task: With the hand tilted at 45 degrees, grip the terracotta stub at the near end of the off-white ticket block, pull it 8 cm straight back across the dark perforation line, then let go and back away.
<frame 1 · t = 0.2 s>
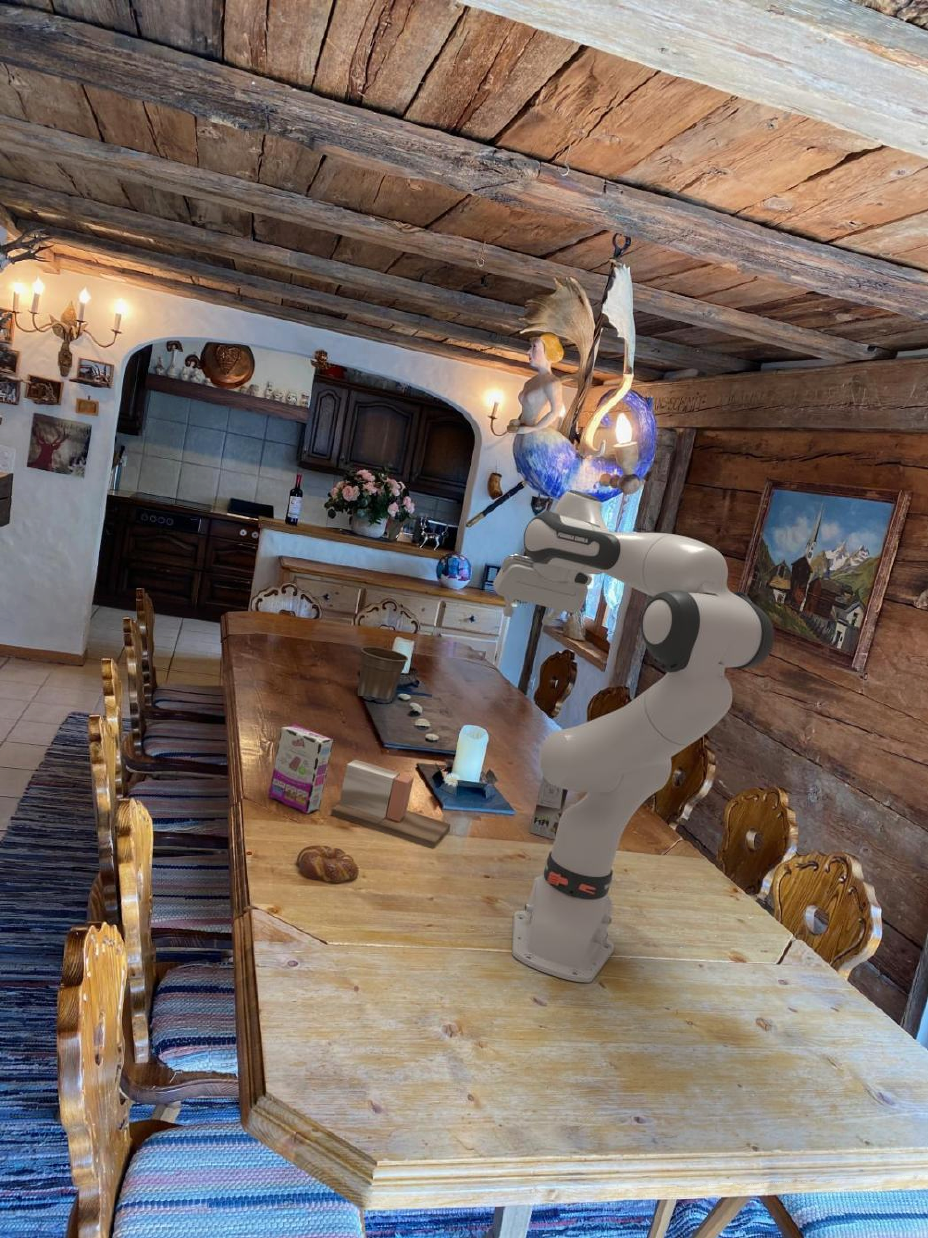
hand: (526, 619, 183), 51 cm above the table, tool tilted 20°, fingers open, 8 cm apart
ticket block: (386, 821, 191), on the table
stub: (400, 797, 189), point 6 cm above the table, slide at 0.0 cm
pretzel: (326, 872, 162), on the table
candy bar box: (293, 804, 189), on the table
coffee box: (544, 831, 206), on the table
plant pot: (375, 699, 291), on the table
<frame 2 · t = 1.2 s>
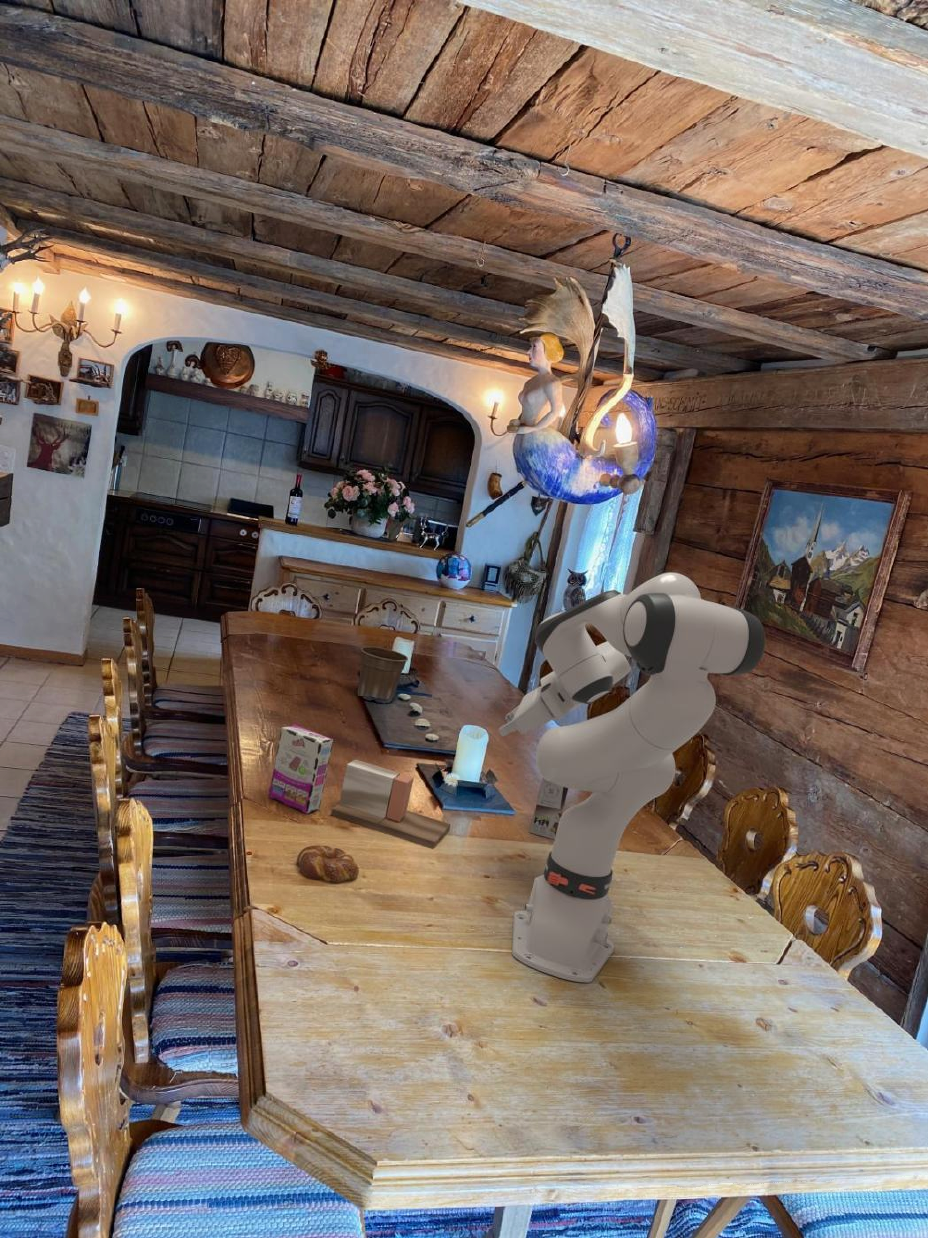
hand: (503, 726, 182), 28 cm above the table, tool tilted 45°, fingers open, 8 cm apart
nothing on the table moved.
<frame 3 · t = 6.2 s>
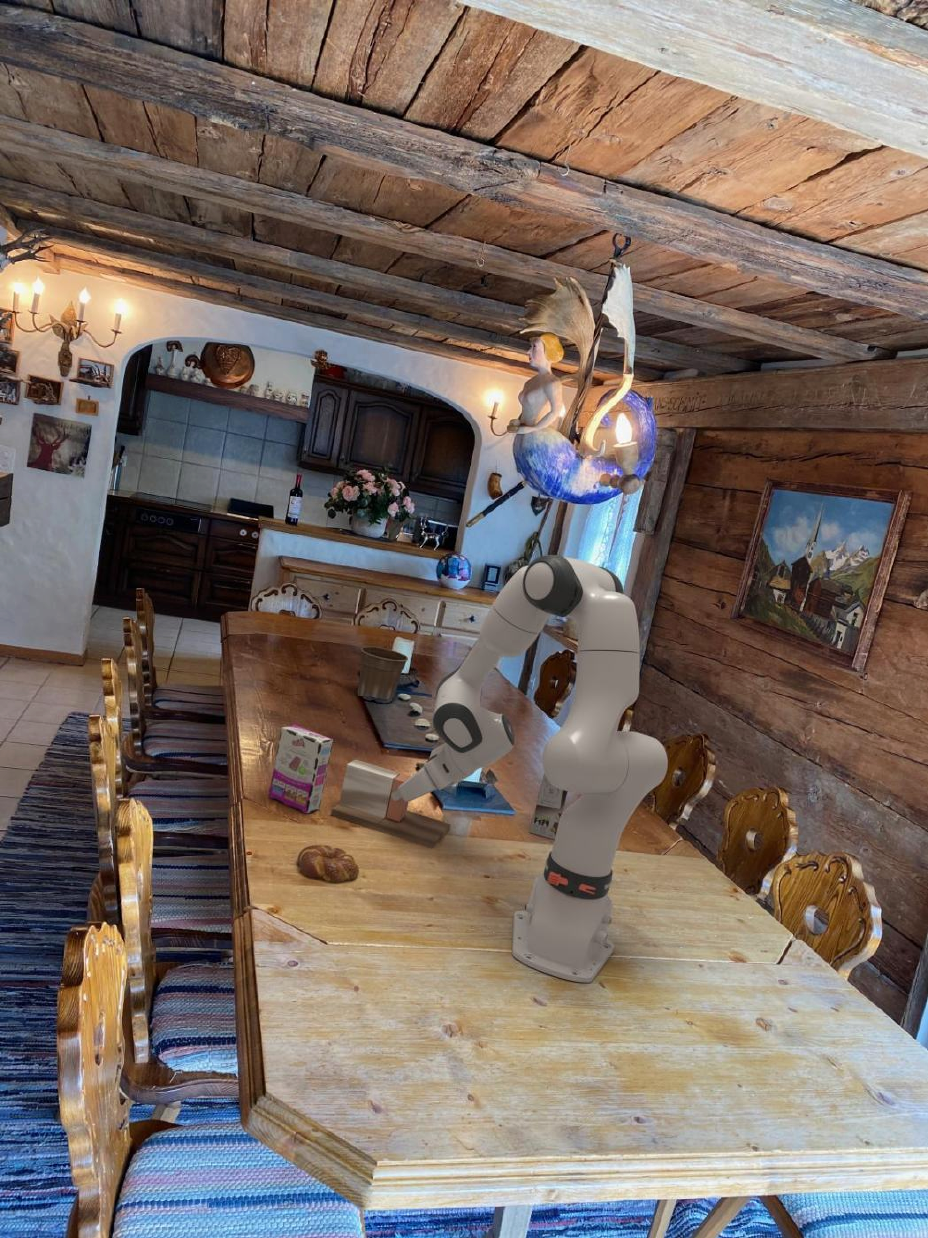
hand: (398, 793, 189), 7 cm above the table, tool tilted 45°, fingers closed on stub, 4 cm apart
stub: (400, 797, 189), point 6 cm above the table, slide at 0.0 cm, touching gripper
everything else where it was.
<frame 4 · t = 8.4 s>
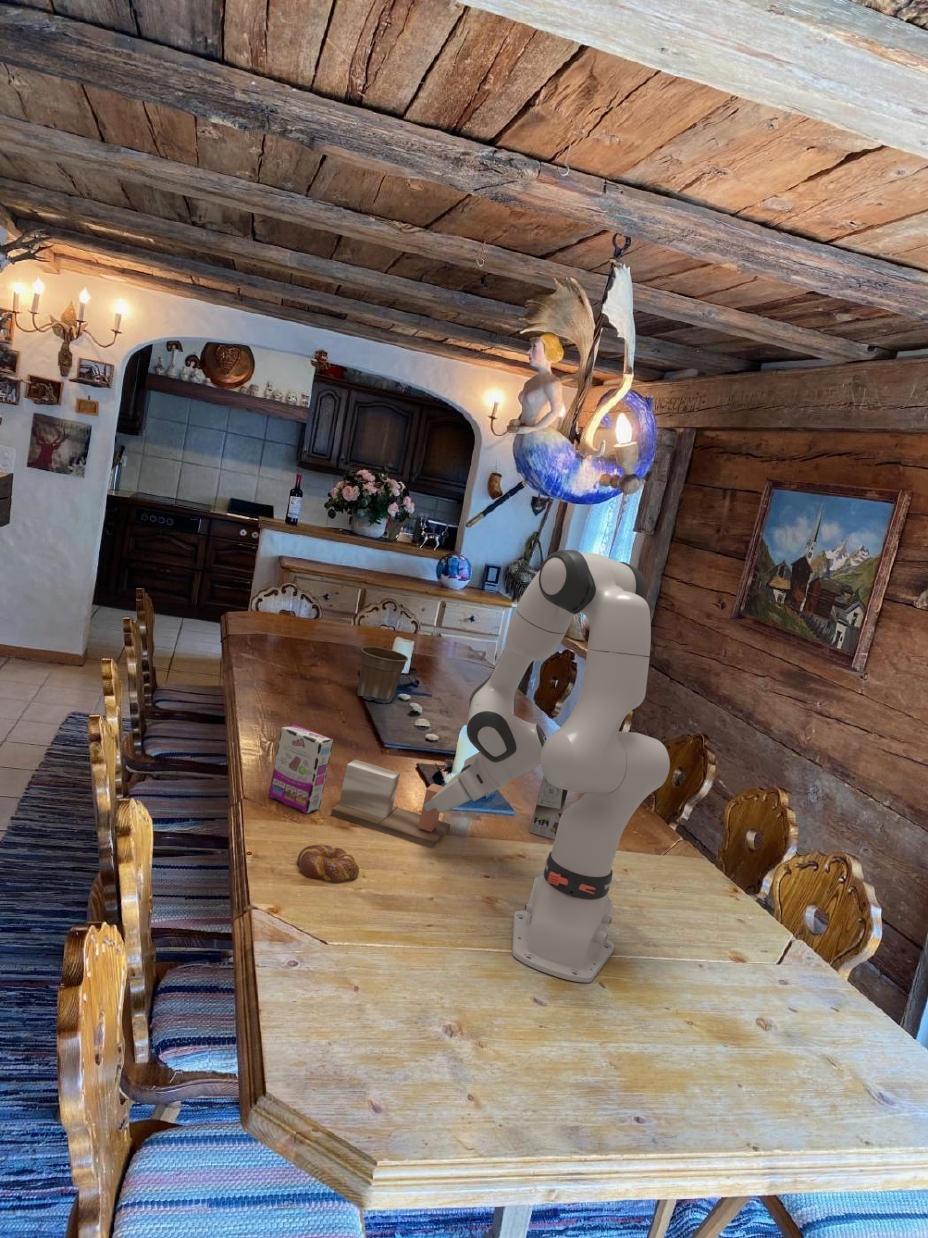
hand: (429, 803, 187), 7 cm above the table, tool tilted 45°, fingers closed on stub, 4 cm apart
stub: (431, 807, 187), point 6 cm above the table, slide at 7.5 cm, touching gripper
everything else where it was.
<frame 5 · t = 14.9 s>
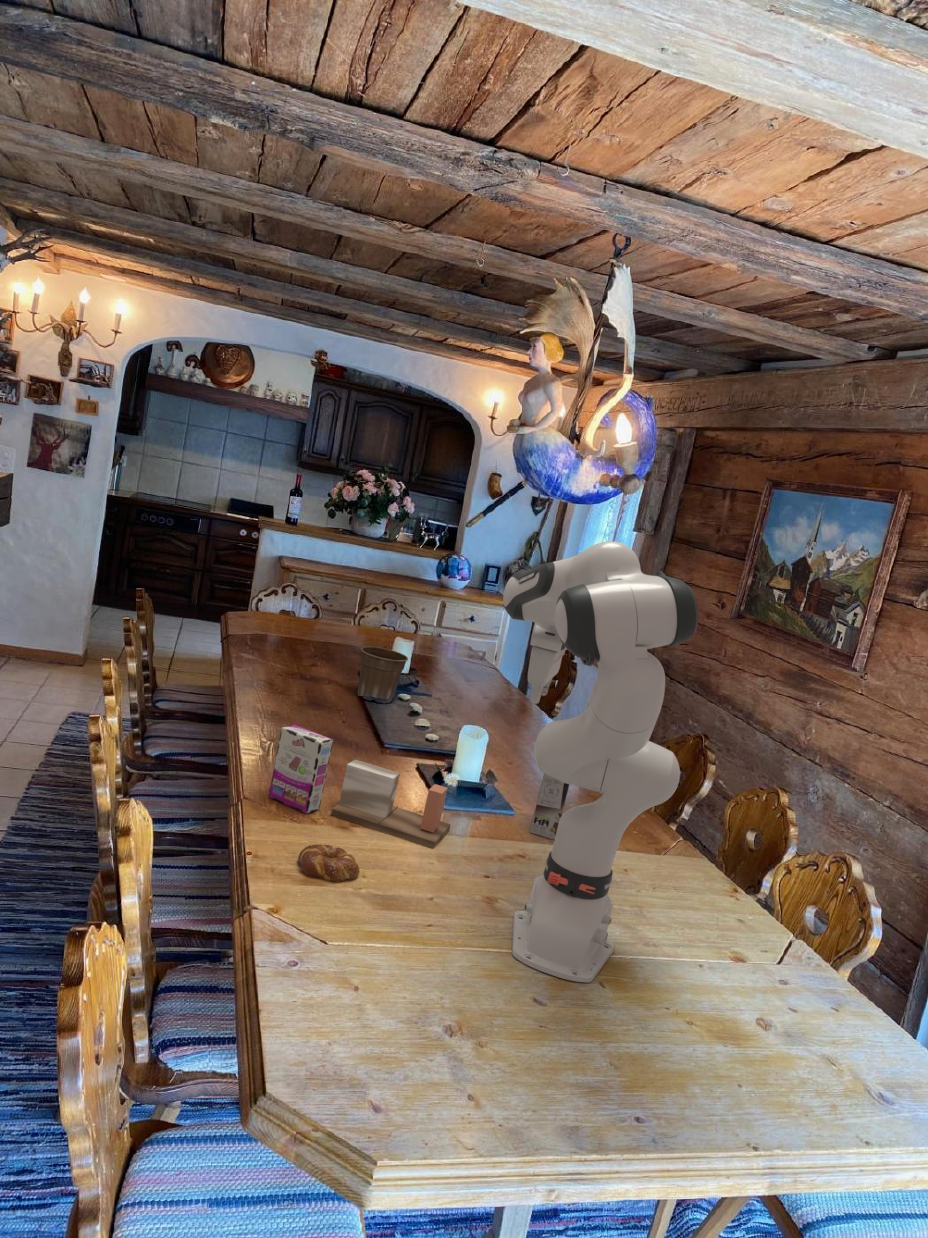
hand: (538, 698, 183), 35 cm above the table, tool pointing down, fingers open, 8 cm apart
stub: (434, 808, 187), point 6 cm above the table, slide at 8.0 cm
everything else where it was.
at the end: stub slide at 8.0 cm; the gripper is holding nothing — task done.
